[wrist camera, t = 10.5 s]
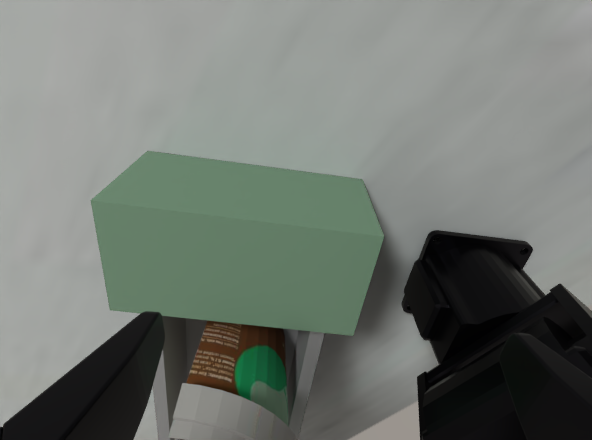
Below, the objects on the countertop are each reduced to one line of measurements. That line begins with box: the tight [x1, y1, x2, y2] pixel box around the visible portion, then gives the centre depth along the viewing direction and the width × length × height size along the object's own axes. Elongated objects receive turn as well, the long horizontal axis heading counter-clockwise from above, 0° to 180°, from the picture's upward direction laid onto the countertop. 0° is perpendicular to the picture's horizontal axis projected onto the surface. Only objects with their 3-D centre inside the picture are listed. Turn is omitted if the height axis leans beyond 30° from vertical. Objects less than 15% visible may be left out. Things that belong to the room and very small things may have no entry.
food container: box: [168, 320, 297, 440], centre depth 21 cm, size 12×6×10 cm, turn 173°
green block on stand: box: [91, 151, 384, 440], centre depth 22 cm, size 12×21×6 cm, turn 172°
